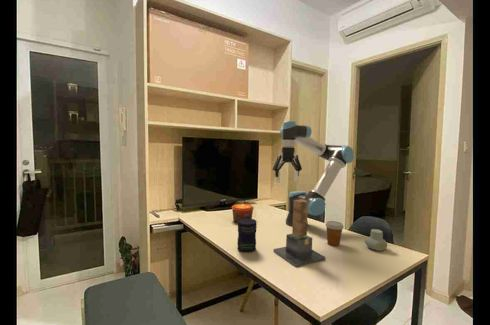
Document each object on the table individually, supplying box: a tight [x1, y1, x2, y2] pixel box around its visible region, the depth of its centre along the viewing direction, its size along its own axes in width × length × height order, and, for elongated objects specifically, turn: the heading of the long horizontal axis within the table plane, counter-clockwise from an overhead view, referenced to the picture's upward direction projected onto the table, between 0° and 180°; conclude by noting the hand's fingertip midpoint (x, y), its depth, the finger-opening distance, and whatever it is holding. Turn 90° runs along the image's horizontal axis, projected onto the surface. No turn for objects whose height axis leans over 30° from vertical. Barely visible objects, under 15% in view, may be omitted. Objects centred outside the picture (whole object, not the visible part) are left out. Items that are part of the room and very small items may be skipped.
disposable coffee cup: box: [325, 220, 344, 247], centre depth 145 cm, size 10×10×12 cm
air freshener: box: [364, 228, 388, 252], centre depth 141 cm, size 11×8×10 cm
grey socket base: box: [273, 233, 326, 268], centre depth 129 cm, size 18×18×10 cm
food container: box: [231, 203, 255, 224], centre depth 185 cm, size 16×16×11 cm
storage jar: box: [236, 218, 257, 254], centre depth 136 cm, size 10×10×15 cm
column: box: [291, 199, 309, 239], centre depth 128 cm, size 5×5×20 cm
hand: (287, 181), depth 157 cm, fingers open, 13 cm apart
